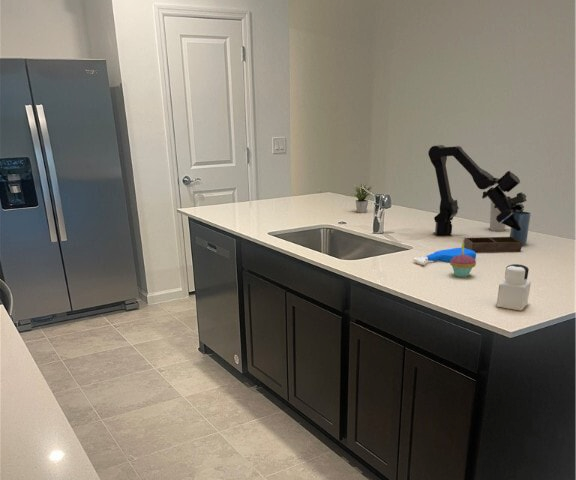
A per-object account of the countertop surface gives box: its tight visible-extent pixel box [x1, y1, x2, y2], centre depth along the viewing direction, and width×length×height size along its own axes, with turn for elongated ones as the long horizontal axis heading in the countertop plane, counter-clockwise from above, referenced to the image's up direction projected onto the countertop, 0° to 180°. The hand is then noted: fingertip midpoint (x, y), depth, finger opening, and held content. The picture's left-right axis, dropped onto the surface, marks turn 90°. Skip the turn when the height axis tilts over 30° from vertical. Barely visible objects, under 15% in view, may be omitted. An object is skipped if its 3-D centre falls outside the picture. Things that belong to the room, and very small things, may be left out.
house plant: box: [351, 181, 373, 214], centre depth 305 cm, size 14×14×16 cm
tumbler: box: [509, 211, 532, 247], centre depth 229 cm, size 7×7×13 cm
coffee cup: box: [489, 199, 506, 232], centre depth 255 cm, size 10×10×15 cm
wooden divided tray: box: [463, 236, 522, 254], centre depth 223 cm, size 20×10×4 cm, turn 91°
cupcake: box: [449, 239, 477, 278], centre depth 188 cm, size 9×8×12 cm
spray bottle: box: [413, 247, 477, 266], centre depth 208 cm, size 3×11×24 cm
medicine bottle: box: [496, 263, 532, 311], centre depth 159 cm, size 7×7×12 cm
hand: (523, 228), depth 228 cm, fingers open, 8 cm apart
